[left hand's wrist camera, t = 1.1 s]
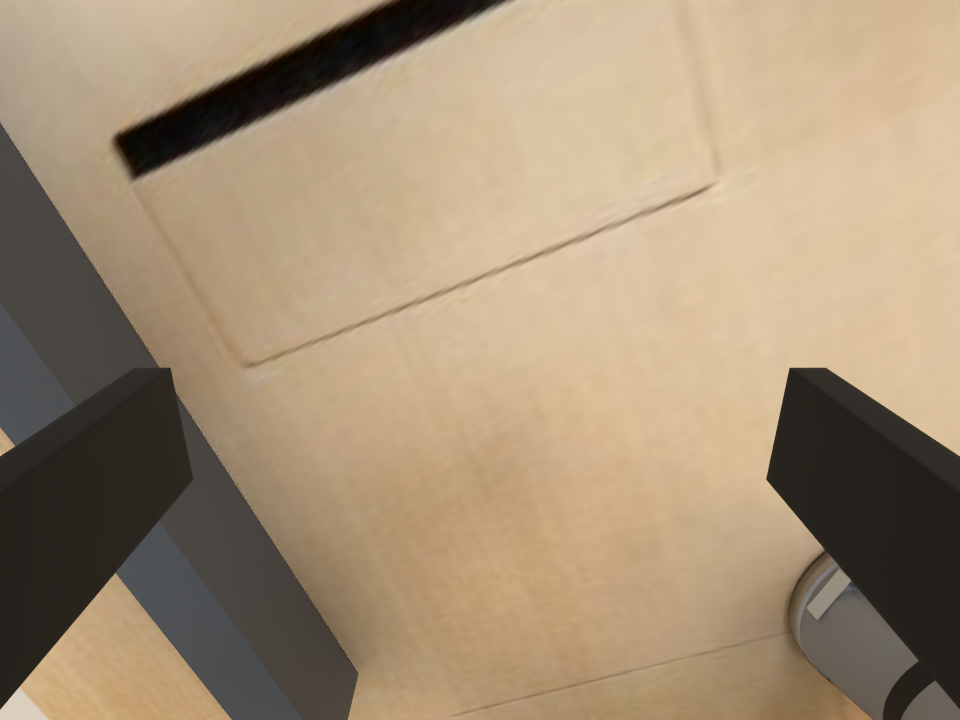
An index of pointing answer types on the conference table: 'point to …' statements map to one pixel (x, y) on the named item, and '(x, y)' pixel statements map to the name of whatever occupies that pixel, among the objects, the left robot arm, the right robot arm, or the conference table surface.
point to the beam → (199, 509)
